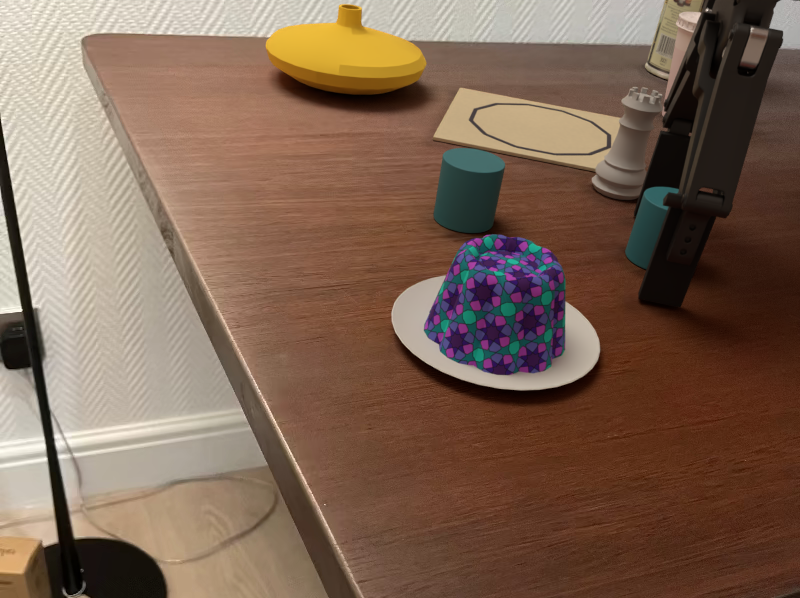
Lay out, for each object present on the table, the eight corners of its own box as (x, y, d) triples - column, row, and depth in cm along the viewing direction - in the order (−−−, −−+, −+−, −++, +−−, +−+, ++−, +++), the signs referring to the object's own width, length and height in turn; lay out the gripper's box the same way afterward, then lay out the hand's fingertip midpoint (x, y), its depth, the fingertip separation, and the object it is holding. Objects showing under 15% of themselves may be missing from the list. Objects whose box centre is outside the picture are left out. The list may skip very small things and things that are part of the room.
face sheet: (632, 123, 82) (633, 119, 82) (636, 180, 69) (637, 176, 69) (459, 90, 84) (460, 86, 84) (432, 140, 71) (433, 136, 71)
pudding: (455, 265, 53) (469, 189, 50) (626, 335, 49) (653, 257, 45) (347, 339, 45) (356, 253, 41) (542, 432, 40) (568, 345, 37)
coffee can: (735, 78, 102) (781, -47, 94) (715, 94, 95) (763, -40, 86) (657, 57, 106) (694, -65, 97) (632, 71, 99) (670, -60, 90)
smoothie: (682, 131, 82) (733, -21, 74) (636, 109, 86) (679, -37, 78) (722, 125, 85) (775, -21, 77) (675, 105, 89) (721, -37, 81)
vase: (233, 67, 80) (232, -10, 76) (354, 54, 90) (360, -16, 85) (331, 119, 72) (337, 36, 68) (454, 98, 81) (466, 23, 77)
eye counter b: (684, 252, 59) (706, 194, 56) (689, 279, 56) (712, 219, 53) (624, 239, 59) (643, 181, 57) (625, 266, 56) (645, 205, 53)
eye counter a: (496, 213, 60) (508, 155, 58) (489, 238, 57) (502, 177, 54) (438, 201, 61) (448, 143, 58) (428, 225, 57) (437, 164, 55)
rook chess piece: (594, 174, 69) (621, 78, 64) (646, 188, 68) (678, 91, 63) (585, 192, 66) (612, 92, 61) (639, 206, 65) (672, 106, 60)
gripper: (692, -119, 55) (603, 181, 67) (736, -80, 35) (600, 333, 48) (805, -100, 54) (693, 200, 67) (915, -49, 34) (727, 361, 47)
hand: (654, 256), depth 57 cm, fingers open, 13 cm apart
